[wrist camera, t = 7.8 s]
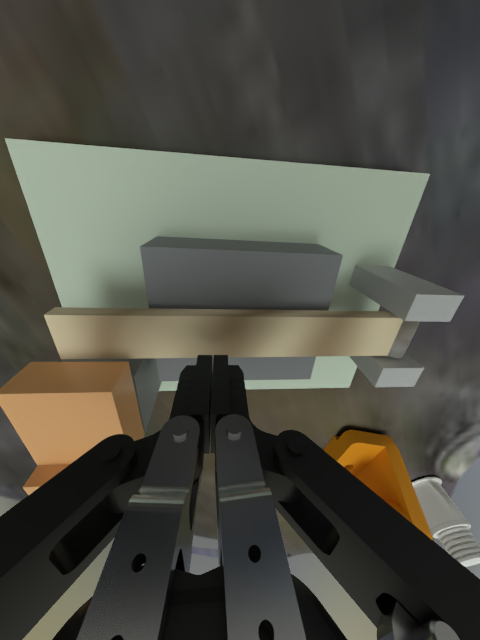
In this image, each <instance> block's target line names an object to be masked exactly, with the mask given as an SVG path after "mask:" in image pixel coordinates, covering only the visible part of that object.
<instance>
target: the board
mask: <svg viewBox="0 0 480 640" xmlns="http://www.w3.org/2000/svg"><path fill="white" fill-rule="evenodd" d="M5 141H6V144H7V147H8V150H9V152H10V155H11V158H12V161H13V164H14V167H15V170H16V173H17V176H18V179H19V182H20V185H21V188H22V191H23V194H24V197H25V199H26V202H27V205H28V208H29V211H30V214H31V217H32V220H33V223H34V226H35V229H36V232H37V235H38V238H39V241H40V244H41V246H42V249H43V252H44V255H45V258H46V261H47V264H48V267H49V270H50V273H51V276H52V279H53V282H54V285H55V288H56V291H57V294H58V296H59V299H60V302H61V305H62V307H76V308H158V309H241V310H323V311H378V310H379V307H380V305H381V306H382V307H384V308H385V309H387V310H388V311H390V312H391V313H393V314H395V315H396V316H398V317H399V318H401V319H402V320H404V321H436V322H450V321H451V319H452V317H453V315H454V314H455V312H456V310H457V308H458V306H459V305H460V303H461V301H462V299H463V297H464V295H462V294H459V293H456V292H454V291H451V290H449V289H446V288H444V287H441V286H438V285H436V284H433V283H431V282H428V281H426V280H423V279H420V278H418V277H415V276H413V275H410V274H408V273H405V272H403V271H400V270H397V269H395V265H396V263H397V260H398V257H399V255H400V252H401V249H402V247H403V244H404V242H405V239H406V236H407V234H408V231H409V228H410V226H411V223H412V220H413V218H414V215H415V213H416V210H417V207H418V205H419V202H420V199H421V197H422V194H423V191H424V189H425V186H426V184H427V181H428V178H429V176H430V174H426V173H414V172H402V171H390V170H378V169H366V168H354V167H342V166H330V165H318V164H306V163H294V162H282V161H270V160H258V159H246V158H234V157H222V156H210V155H199V154H187V153H175V152H163V151H151V150H139V149H127V148H115V147H103V146H91V145H79V144H67V143H55V142H43V141H31V140H19V139H7V138H5ZM127 361H129V366H130V370H131V375H132V380H133V384H134V389H135V393H136V398H137V403H138V407H139V412H140V417H141V421H142V426H143V430H144V432H146V429H147V426H148V423H149V420H150V417H151V413H152V410H153V407H154V404H155V401H156V398H157V394H158V391H176V390H177V385H178V382H179V377H180V373H181V371H182V370H183V369H184V368H185V367H186V365H196V363H197V358H137V359H62V360H61V361H60V362H127ZM228 365H239V367H240V368H241V369H242V371H243V373H244V382H245V389H295V388H349V387H350V384H351V381H352V379H353V376H354V373H355V371H356V368H357V366H358V368H359V369H360V370H361V371H362V372H363V374H364V375H365V376H366V377H367V378H368V380H369V381H370V382H371V383H372V384H373V386H374V387H414V385H415V384H416V382H417V380H418V378H419V376H420V375H421V373H422V371H423V369H424V367H422V366H421V365H420V364H419V363H418V362H416V361H415V360H414V359H413V358H411V357H410V356H409V355H408V354H407V353H405V354H404V356H403V357H402V358H393V357H390V356H316V357H228Z"/></svg>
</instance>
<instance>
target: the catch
mask: <svg viewBox="0 0 480 640" xmlns="http://www.w3.org/2000/svg"><path fill="white" fill-rule="evenodd" d="M0 405H1V407H2V409H3V410H4V412H5V414H6V415H7V417H8V418H9V420H10V422H11V423H12V425H13V426H14V428H15V430H16V431H17V433H18V435H19V436H20V438H21V439H22V441H23V443H24V444H25V446H26V448H27V449H28V451H29V452H30V454H31V456H32V457H33V459H34V460H35V462H36V464H37V465H38V466H37V467H36V469H35V470H34V472H33V473H32V475H31V476H30V477H29V479H28V480H27V482H26V483H25V485H24V486H23V489H24V490H25V491H26V493H27V494H28V495H30V494H31V493H32V492H34V491H35V490H36V489H38V488H39V487H40V486H42V485H43V484H44V483H46V482H47V481H48V480H50V479H51V478H52V477H54V476H55V475H57V474H58V473H59V472H61V471H62V470H63V469H65V468H66V467H67V466H69V465H70V464H71V463H73V462H74V461H75V460H77V459H78V458H79V457H81V456H82V455H83V454H85V453H86V452H87V451H89V450H90V449H91V448H93V447H94V446H95V445H97V444H98V443H99V442H101V441H102V440H104V439H105V438H107V437H110V436H112V435H116V434H125V435H128V436H130V437H132V439H133V440H134V441H136V440H139V439H142V438H144V430H143V426H142V421H141V417H140V412H139V407H138V403H137V398H136V393H135V389H134V384H133V380H132V375H131V370H130V366H129V361H127V362H30V363H29V364H28V365H27V366H26V367H25V368H23V369H22V370H21V371H20V372H19V373H18V374H17V375H15V376H14V377H13V378H12V379H11V380H10V381H8V382H7V383H6V384H5V385H4V386H3V387H1V388H0Z"/></svg>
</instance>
